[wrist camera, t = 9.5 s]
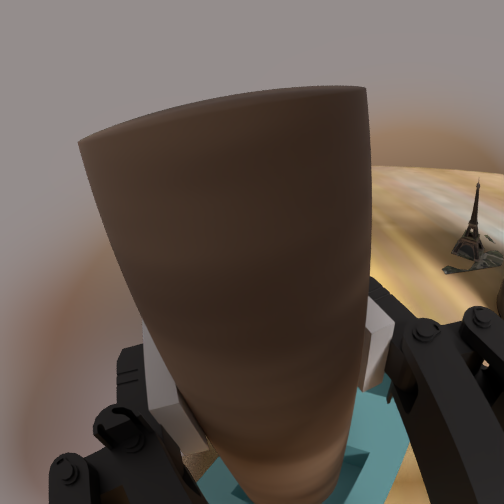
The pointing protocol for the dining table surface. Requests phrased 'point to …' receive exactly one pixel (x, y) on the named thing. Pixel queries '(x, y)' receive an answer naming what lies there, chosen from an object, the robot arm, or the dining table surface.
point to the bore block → (355, 458)
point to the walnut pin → (250, 269)
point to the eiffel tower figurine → (474, 246)
